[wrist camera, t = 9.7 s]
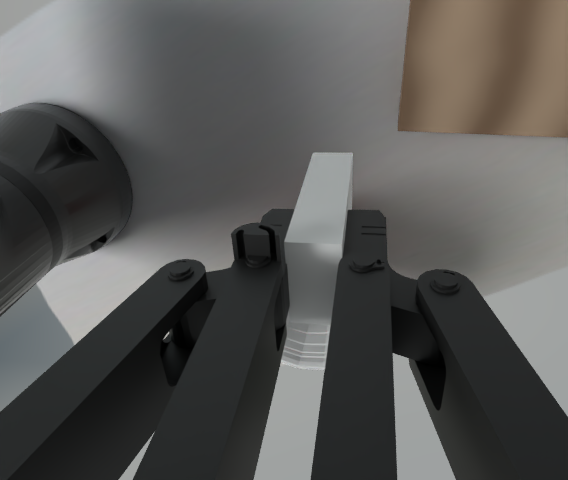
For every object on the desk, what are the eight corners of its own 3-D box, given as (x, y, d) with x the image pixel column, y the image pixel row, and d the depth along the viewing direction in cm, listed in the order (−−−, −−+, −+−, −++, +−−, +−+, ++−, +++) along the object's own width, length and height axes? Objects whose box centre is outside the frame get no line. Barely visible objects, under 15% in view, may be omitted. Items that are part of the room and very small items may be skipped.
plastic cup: (260, 178, 41) (216, 248, 31) (383, 184, 39) (377, 261, 29) (267, 277, 47) (231, 363, 37) (375, 287, 45) (368, 382, 35)
